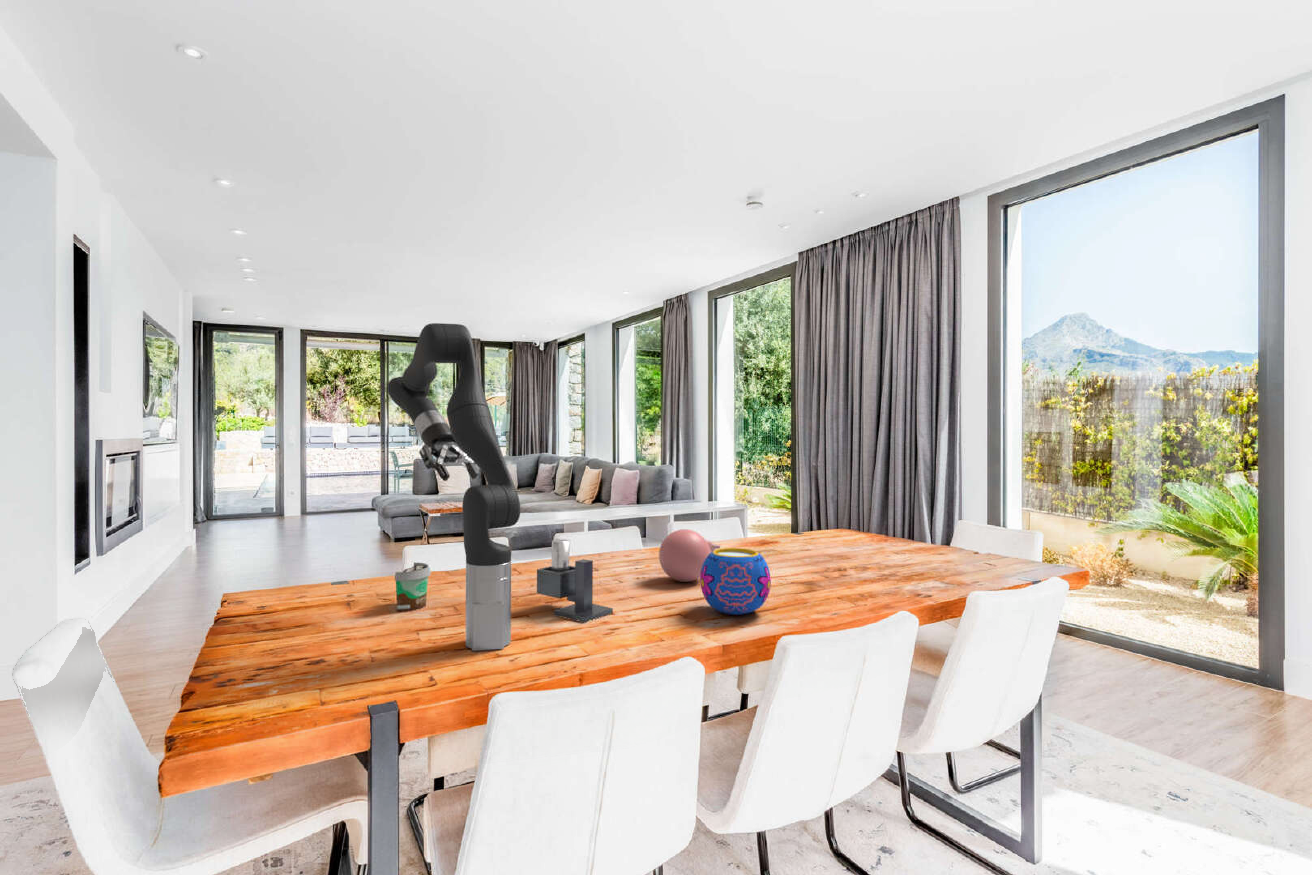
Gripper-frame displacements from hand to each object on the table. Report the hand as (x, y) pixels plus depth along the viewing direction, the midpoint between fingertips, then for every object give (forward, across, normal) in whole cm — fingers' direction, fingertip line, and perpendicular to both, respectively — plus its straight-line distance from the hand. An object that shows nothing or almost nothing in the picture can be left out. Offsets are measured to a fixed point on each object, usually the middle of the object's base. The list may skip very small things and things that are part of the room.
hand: (461, 477), depth 161 cm
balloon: (+44, +60, +2) cm, 75 cm away
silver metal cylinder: (+34, +15, +5) cm, 37 cm away
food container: (+17, -6, +30) cm, 35 cm away
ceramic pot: (+63, +39, -16) cm, 76 cm away
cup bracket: (+40, +15, +6) cm, 43 cm away
